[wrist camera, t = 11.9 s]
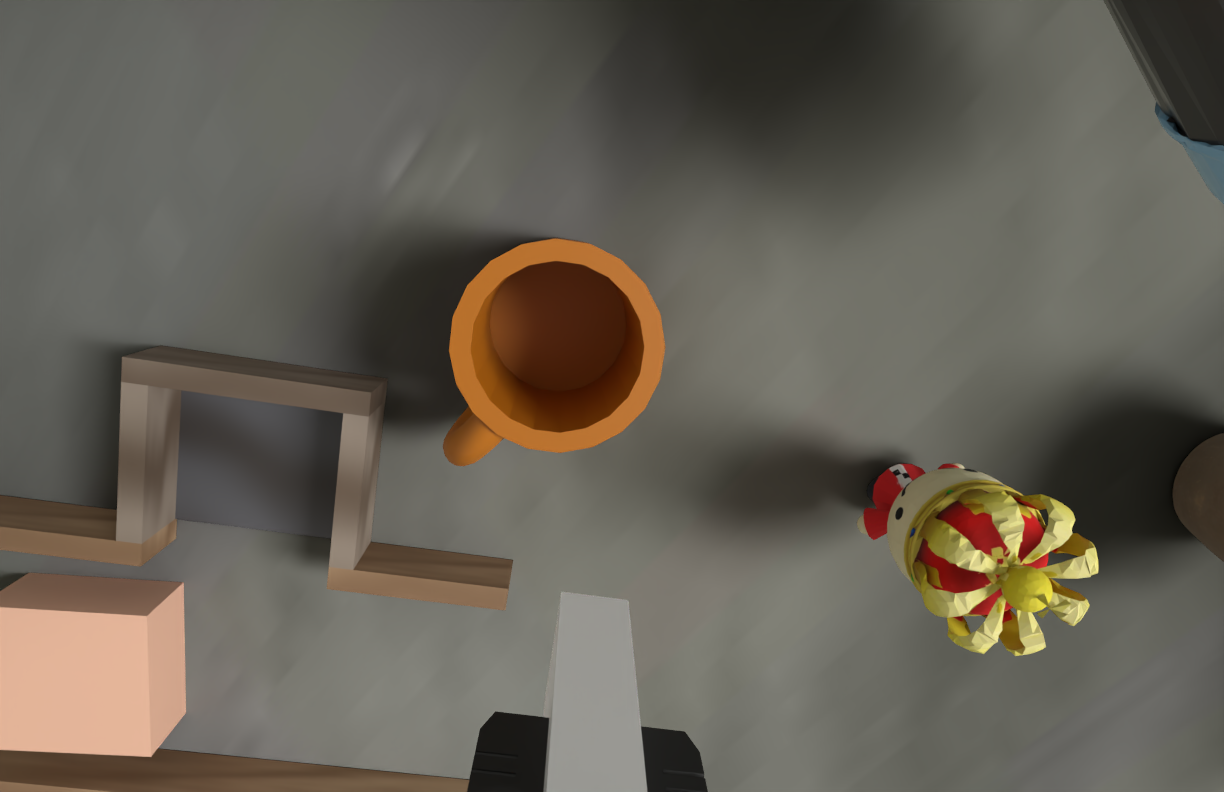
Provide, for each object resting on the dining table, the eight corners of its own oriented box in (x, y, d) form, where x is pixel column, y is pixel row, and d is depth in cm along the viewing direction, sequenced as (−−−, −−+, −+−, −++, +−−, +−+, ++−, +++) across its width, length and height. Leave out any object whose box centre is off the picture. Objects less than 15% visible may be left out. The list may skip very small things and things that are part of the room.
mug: (390, 343, 40) (339, 371, 31) (575, 202, 39) (577, 189, 30) (497, 475, 41) (478, 537, 33) (677, 342, 41) (707, 370, 32)
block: (32, 570, 41) (-23, 605, 38) (186, 580, 42) (146, 615, 38) (41, 702, 43) (-12, 749, 39) (188, 709, 44) (151, 756, 40)
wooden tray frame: (-70, 311, 38) (-133, 320, 35) (536, 400, 41) (533, 415, 37) (-62, 745, 43) (-116, 790, 40) (478, 798, 46) (471, 844, 42)
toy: (920, 399, 42) (1110, 491, 27) (979, 501, 43) (1189, 640, 29) (809, 469, 42) (937, 596, 28) (870, 568, 44) (1023, 738, 29)
